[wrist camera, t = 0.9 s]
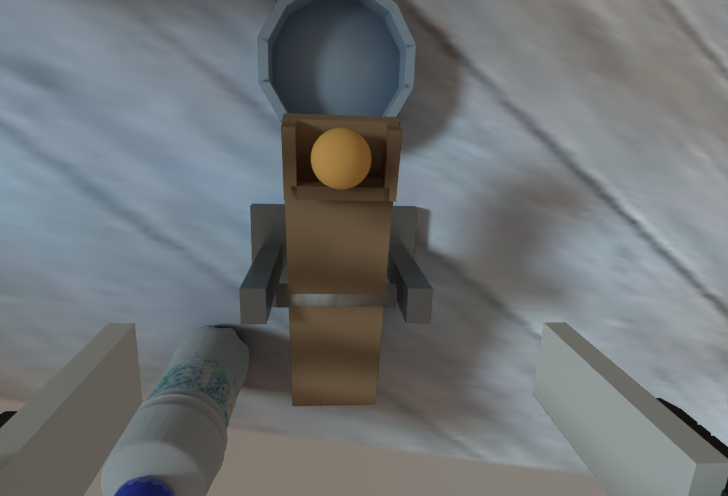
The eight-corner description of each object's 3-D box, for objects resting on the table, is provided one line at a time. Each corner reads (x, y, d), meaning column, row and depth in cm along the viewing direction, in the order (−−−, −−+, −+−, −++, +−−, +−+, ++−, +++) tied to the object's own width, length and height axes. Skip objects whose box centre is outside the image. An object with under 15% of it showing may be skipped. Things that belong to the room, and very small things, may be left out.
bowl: (403, 143, 39) (410, 145, 36) (266, 139, 38) (260, 141, 35) (410, -6, 37) (419, -19, 33) (262, -14, 36) (255, -29, 32)
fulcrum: (409, 302, 43) (440, 368, 32) (255, 303, 42) (228, 371, 30) (414, 206, 41) (450, 238, 29) (252, 203, 40) (222, 236, 28)
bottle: (232, 394, 44) (160, 604, 25) (167, 362, 43) (36, 557, 24) (268, 339, 43) (222, 514, 24) (202, 303, 42) (97, 458, 22)
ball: (303, 129, 25) (300, 153, 23) (359, 110, 25) (363, 134, 22) (323, 179, 27) (322, 207, 25) (376, 163, 27) (381, 190, 24)
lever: (377, 346, 42) (387, 420, 35) (288, 347, 42) (280, 423, 35) (398, 96, 31) (419, 131, 24) (277, 92, 31) (263, 126, 24)
